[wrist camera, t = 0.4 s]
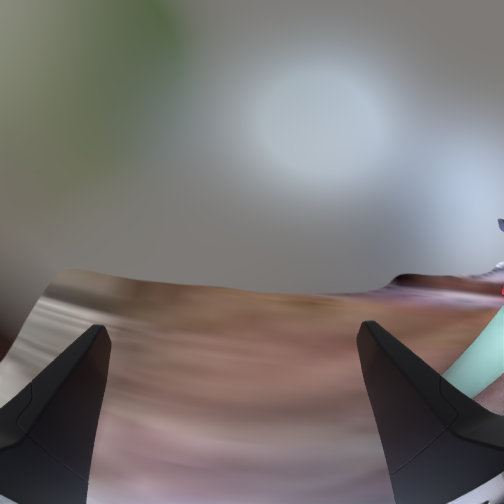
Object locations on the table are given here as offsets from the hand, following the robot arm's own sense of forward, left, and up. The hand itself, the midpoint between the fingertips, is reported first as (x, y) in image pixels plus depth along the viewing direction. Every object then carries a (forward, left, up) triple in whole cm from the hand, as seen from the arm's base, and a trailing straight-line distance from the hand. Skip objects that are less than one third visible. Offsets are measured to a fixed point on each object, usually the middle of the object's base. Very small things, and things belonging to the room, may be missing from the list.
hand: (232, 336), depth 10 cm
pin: (-3, -19, -16) cm, 26 cm away
